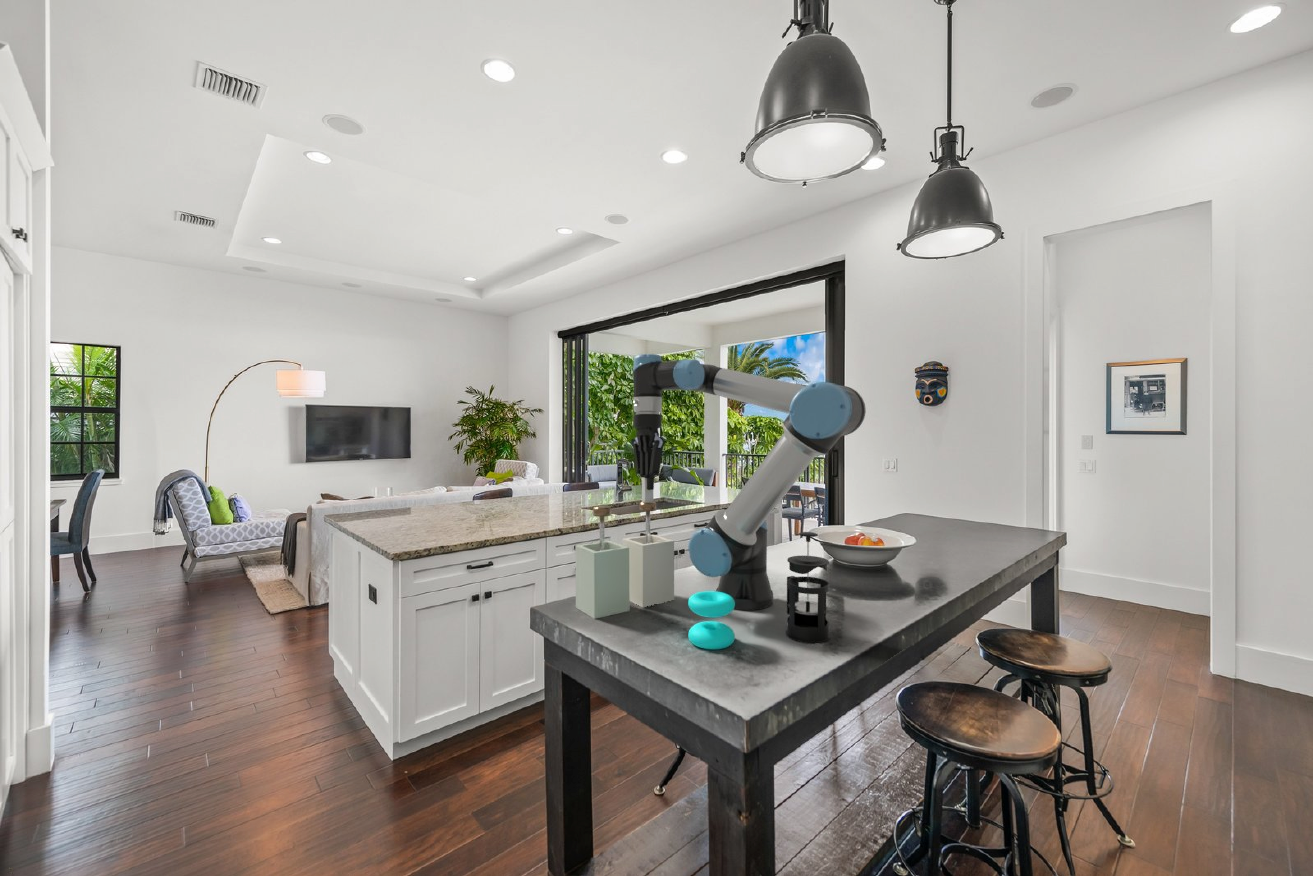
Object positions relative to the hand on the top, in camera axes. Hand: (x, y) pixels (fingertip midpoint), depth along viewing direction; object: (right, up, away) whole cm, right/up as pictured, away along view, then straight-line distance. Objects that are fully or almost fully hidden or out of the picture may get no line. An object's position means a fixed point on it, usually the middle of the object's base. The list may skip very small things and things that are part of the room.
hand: (647, 501), depth 148 cm
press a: (0, -26, +1) cm, 26 cm away
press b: (-11, -27, -7) cm, 30 cm away
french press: (+36, -27, -24) cm, 51 cm away
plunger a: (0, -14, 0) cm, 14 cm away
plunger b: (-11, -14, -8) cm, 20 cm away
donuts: (+14, -27, -28) cm, 42 cm away
